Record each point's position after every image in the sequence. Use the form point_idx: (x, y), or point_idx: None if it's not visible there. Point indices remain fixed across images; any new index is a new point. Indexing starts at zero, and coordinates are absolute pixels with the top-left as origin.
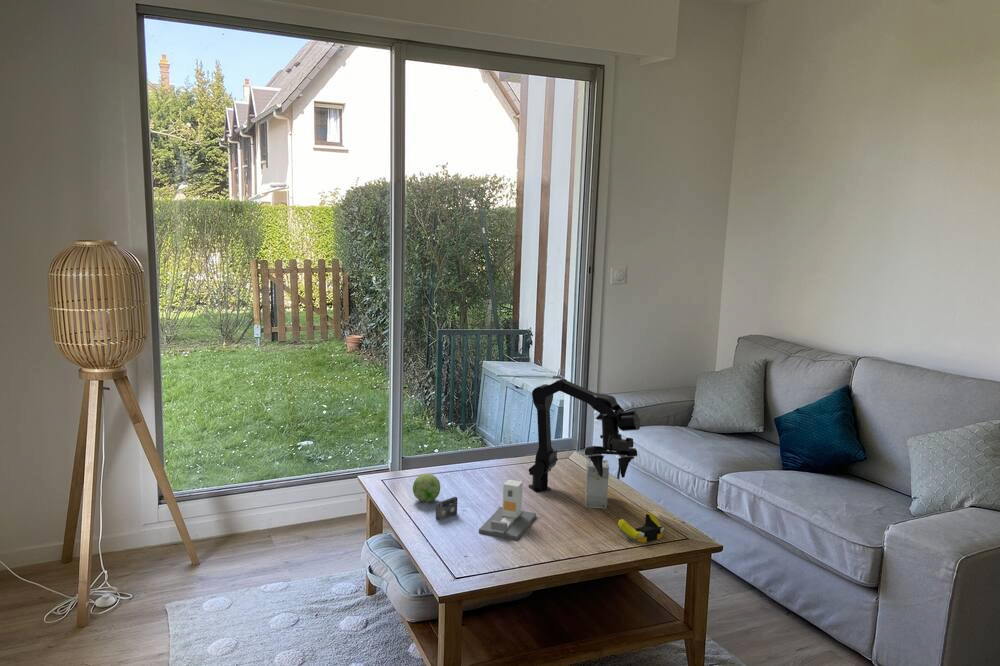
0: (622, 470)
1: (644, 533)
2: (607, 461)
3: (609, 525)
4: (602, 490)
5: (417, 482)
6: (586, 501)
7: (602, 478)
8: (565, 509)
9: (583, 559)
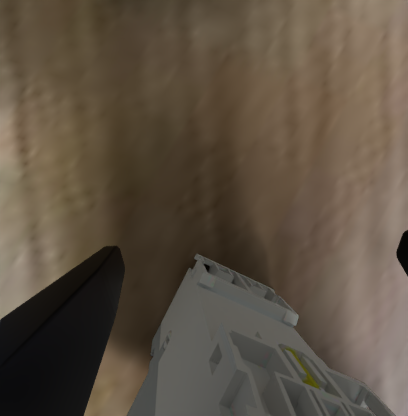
0: (90, 321)
1: None
2: None
3: (274, 92)
4: (225, 307)
5: None
6: (278, 300)
7: (266, 342)
8: (356, 284)
9: None
